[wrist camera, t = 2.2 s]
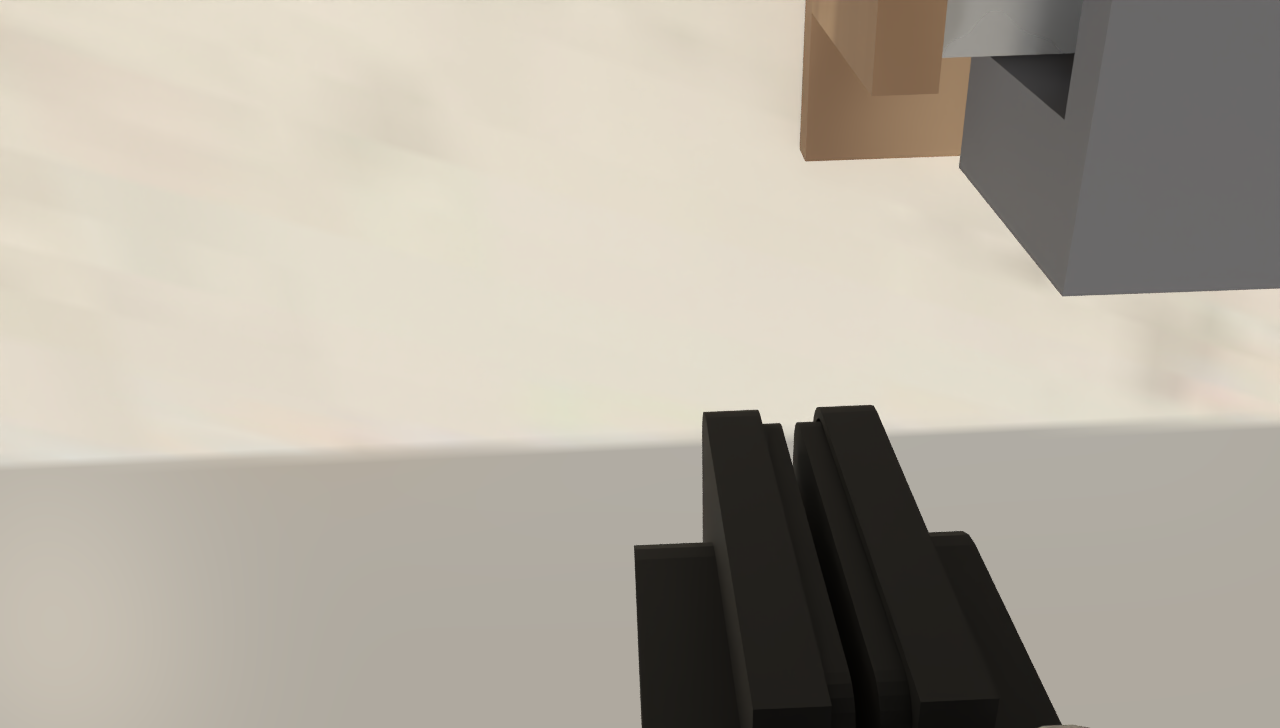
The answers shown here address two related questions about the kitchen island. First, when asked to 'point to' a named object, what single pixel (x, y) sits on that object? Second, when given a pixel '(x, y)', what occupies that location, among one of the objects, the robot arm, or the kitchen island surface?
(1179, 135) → the notched grey block
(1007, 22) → the rail
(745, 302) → the kitchen island surface
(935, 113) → the wooden rail stand
